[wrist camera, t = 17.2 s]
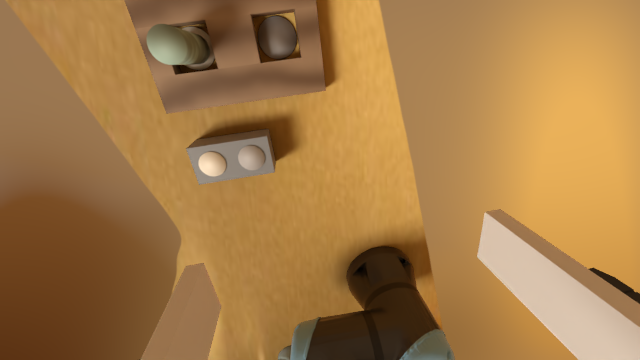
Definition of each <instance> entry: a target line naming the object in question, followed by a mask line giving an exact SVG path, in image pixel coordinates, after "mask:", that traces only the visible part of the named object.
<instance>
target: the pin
mask: <svg viewBox="0 0 640 360" xmlns="http://www.w3.org/2000/svg"><path fill="white" fill-rule="evenodd" d="M147 46H148V48H149V51H150V52H151V54H152V55H153V56H154V57H155V58H156V59H157V60H158V61H160V62H162V63H164V64H168V65H190V64H203V63H205V62H206V61H207V60H208V58H209V55H210V48H209V45H208V43H207V41H206V40H205V39H204V38H203V37H202V36H200V35H198V34H195V33H192V32H189V31H186V30H183V29H180V28H177V27H174V26H170V25H167V24H157V25H154V26H153V27H151V29H150V30H149V31H148V34H147Z"/></svg>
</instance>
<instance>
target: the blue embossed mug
mask: <svg viewBox="0 0 640 360" xmlns="http://www.w3.org/2000/svg"><path fill="white" fill-rule="evenodd" d="M290 357H291V346H288V347H286V348H284V349H283V350H282V351H281V352H280V353H279V356H278V360H290Z"/></svg>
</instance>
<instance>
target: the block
mask: <svg viewBox="0 0 640 360" xmlns="http://www.w3.org/2000/svg"><path fill="white" fill-rule="evenodd" d="M186 149H187V152H188V155H189V158H190V161H191V163H192V166H193V169H194V172H195V174H196V177H197V180H198V183H199V185H200V184H206V183H212V182H218V181H224V180H231V179H237V178H243V177H249V176H255V175H261V174H267V173H274V172H275V164H276V161H275V156H274V151H273V146H272V142H271V137H270V132H269V129H262V130H256V131H249V132H243V133H236V134H230V135H223V136H216V137H210V138H203V139H197V140H195V141H194V142H193V143H192V144H191V145H190V146H189V147H187V148H186Z"/></svg>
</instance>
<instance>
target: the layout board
mask: <svg viewBox="0 0 640 360" xmlns="http://www.w3.org/2000/svg"><path fill="white" fill-rule="evenodd" d="M125 3H126V6H127V8H128V11H129V14H130V16H131V19H132V22H133V24H134V27H135V30H136V33H137V35H138V38H139V41H140V43H141V46H142V49H143V51H144V54H145V57H146V59H147V62H148V65H149V67H150V70H151V73H152V75H153V78H154V81H155V84H156V86H157V89H158V92H159V94H160V97H161V100H162V102H163V105H164V108H165V110H166V113H167V114H168V113H175V112H182V111H189V110H195V109H202V108H209V107H216V106H223V105H230V104H237V103H244V102H251V101H258V100H264V99H271V98H278V97H285V96H292V95H299V94H306V93H313V92H320V91H326V88H325V78H324V69H323V60H322V51H321V41H320V32H319V23H318V14H317V4H316V0H125ZM291 12H294V14H295V21H296V28H297V36H298V43H299V50H300V57H301V58H295V59H287V60H280V61H273V62H265V63H262V62H261V57H260V52H259V47H258V42H257V37H256V32H255V27H254V22H253V17H259V16H267V15H275V14H283V13H291ZM203 23H206V26H207V29H208V33H209V35H208V34H207V33H206V32H204V31H203V30H201V29H199V28H196V27H185V28H183V30H186V31H189V32H192V33H195V34H198V35H200V36H202V37H203V38H204V39H205V40H206V41H207V43H208V45H209V48H210V55H209V58H208V60H207V61H206V62H205V63H203V64H190V65H185V66H187V67H189V68H191V69H194V70H203V69H206V68H208V67H209V66H210V65H211V64H212V63H213V61H214V59H216V63H217V66H218V69H214V70H207V71H199V72H192V73H185V74H181V71H180V68H179V65H168V64H164V63H162V62H160V61H158V60H157V59H156V58H155V57H154V56H153V55H152V54H151V52H150V51H149V48H148V46H147V34H148V31H149V30H150V29H151V27H153V26H154V25H157V24H167V25H170V26H174V27H179V26H187V25H195V24H203ZM258 41H259V44H260V47H261V49H262V50H263V51H264V53H265V54H267V55H268V56H269V57H271V58H274V59H284V58H286V57H288V56H289V55H290V54H291V53H292V52H293V50H294V49H295V46H296V32H295V30H294V27H293V26H292V24H291V23H290V22H289V21H288V20H287V19H285V18H283V17H280V16H272V17H269V18H267V19H266V20H264V21H263V22H262V24H261V26H260V28H259V31H258Z"/></svg>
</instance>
